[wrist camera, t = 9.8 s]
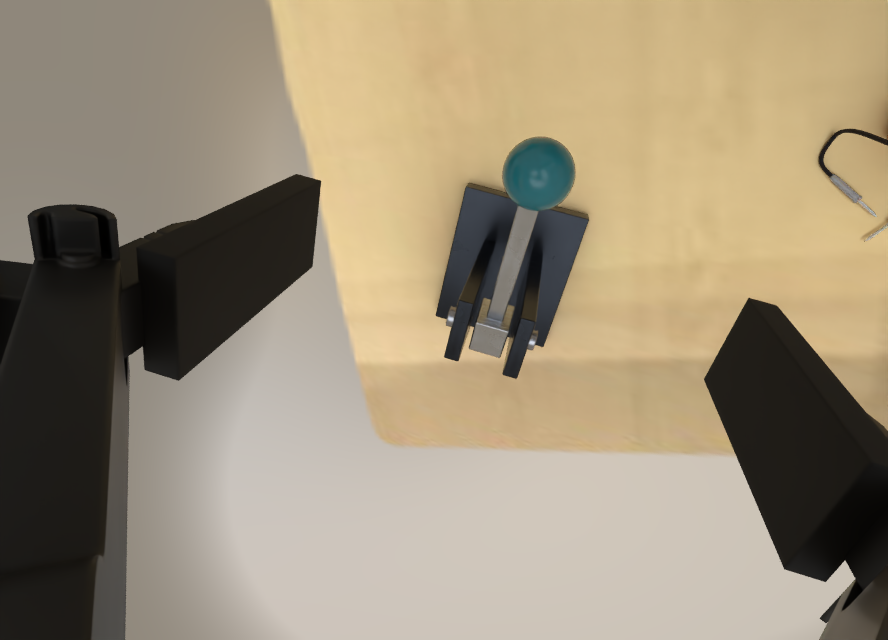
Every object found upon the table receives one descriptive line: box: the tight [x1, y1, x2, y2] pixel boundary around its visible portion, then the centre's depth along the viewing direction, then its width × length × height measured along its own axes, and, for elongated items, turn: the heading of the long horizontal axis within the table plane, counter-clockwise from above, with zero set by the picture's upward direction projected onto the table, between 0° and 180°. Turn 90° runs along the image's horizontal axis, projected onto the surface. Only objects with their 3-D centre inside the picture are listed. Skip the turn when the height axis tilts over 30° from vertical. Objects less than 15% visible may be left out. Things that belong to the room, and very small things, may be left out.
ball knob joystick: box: [469, 137, 575, 358], centre depth 31 cm, size 15×4×4 cm, turn 168°
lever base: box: [436, 183, 589, 379], centre depth 40 cm, size 12×10×14 cm
